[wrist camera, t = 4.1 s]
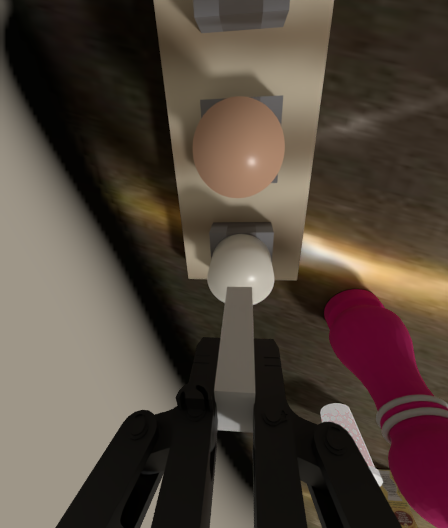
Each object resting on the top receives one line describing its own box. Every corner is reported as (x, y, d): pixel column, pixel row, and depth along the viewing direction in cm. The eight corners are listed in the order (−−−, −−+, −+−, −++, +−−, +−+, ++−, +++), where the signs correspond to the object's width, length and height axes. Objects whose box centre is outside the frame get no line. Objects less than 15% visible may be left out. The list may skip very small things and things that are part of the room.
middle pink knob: (209, 110, 15) (187, 98, 10) (273, 107, 15) (289, 93, 9) (212, 176, 17) (196, 198, 12) (269, 175, 17) (281, 197, 11)
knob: (213, 223, 22) (204, 250, 17) (270, 223, 21) (276, 250, 17) (216, 271, 24) (209, 305, 19) (267, 272, 24) (272, 307, 19)
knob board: (157, -74, 16) (117, -164, 11) (334, -95, 15) (376, -205, 10) (194, 264, 28) (183, 292, 23) (292, 265, 27) (301, 295, 22)
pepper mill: (309, 324, 31) (393, 582, 13) (336, 278, 27) (498, 547, 10) (363, 337, 31) (514, 606, 13) (396, 293, 27) (659, 581, 10)
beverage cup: (308, 407, 39) (336, 534, 27) (344, 395, 37) (392, 527, 25) (326, 425, 41) (360, 551, 29) (362, 415, 39) (414, 546, 27)
